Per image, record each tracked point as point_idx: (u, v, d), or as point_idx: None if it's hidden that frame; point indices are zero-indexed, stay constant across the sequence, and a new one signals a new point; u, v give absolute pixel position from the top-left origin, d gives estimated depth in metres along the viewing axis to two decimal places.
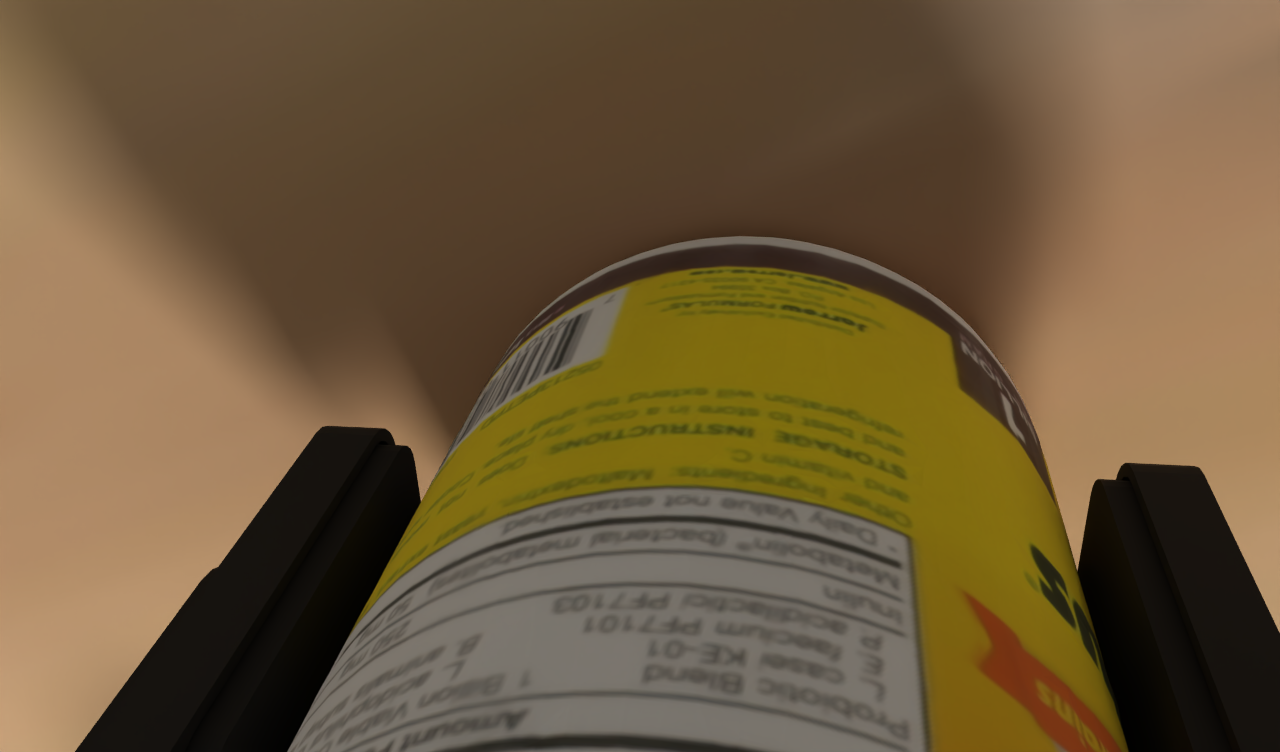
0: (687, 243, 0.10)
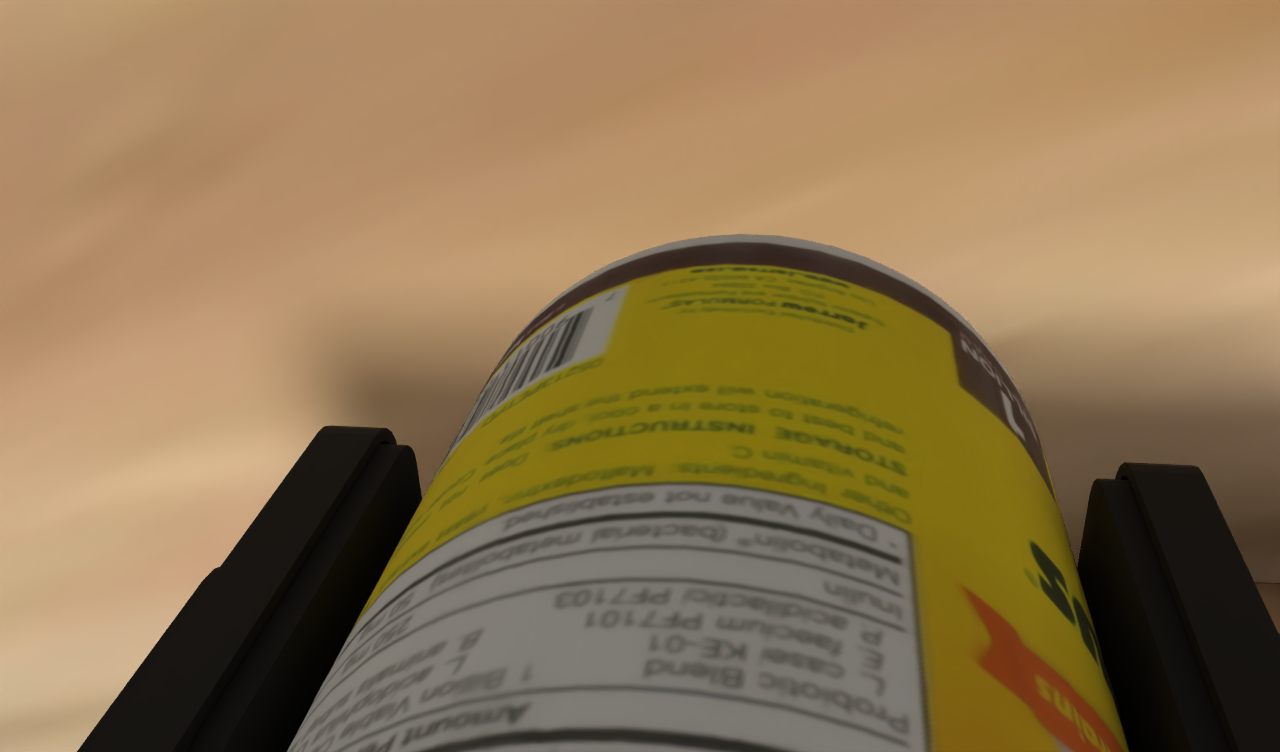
0: (688, 241, 0.10)
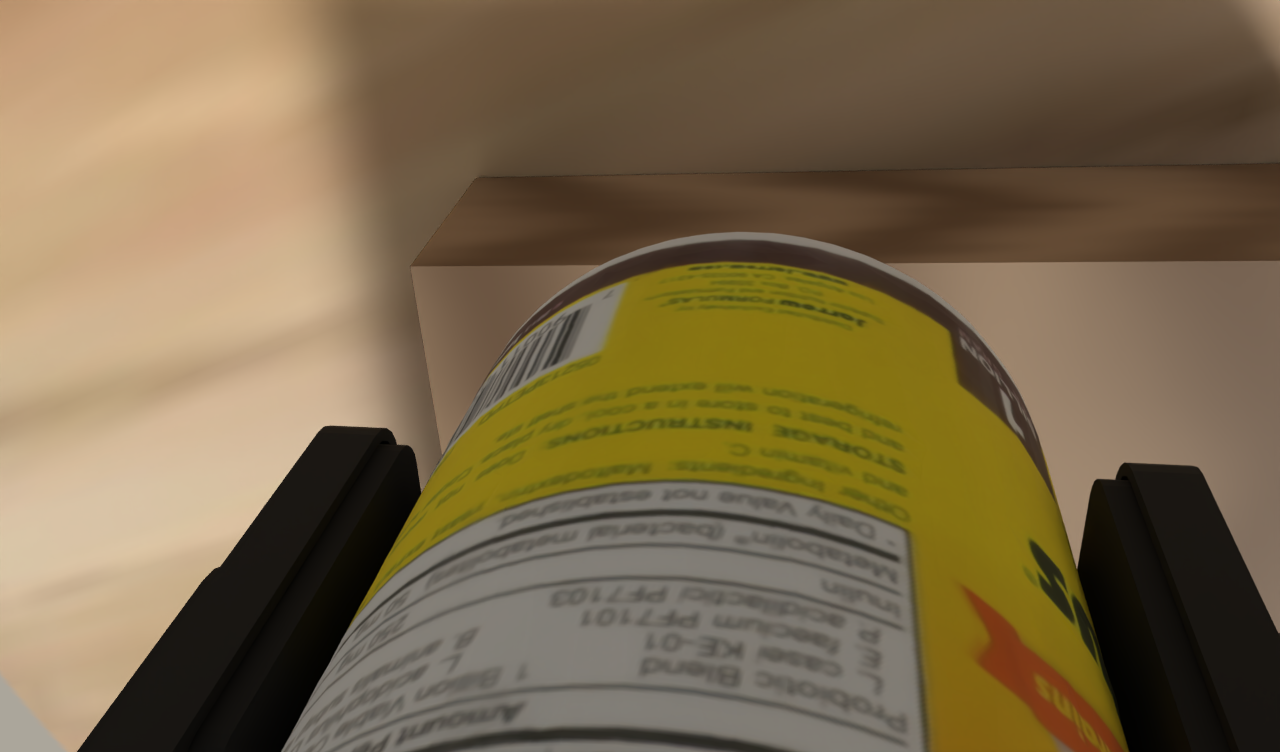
0: (686, 239, 0.10)
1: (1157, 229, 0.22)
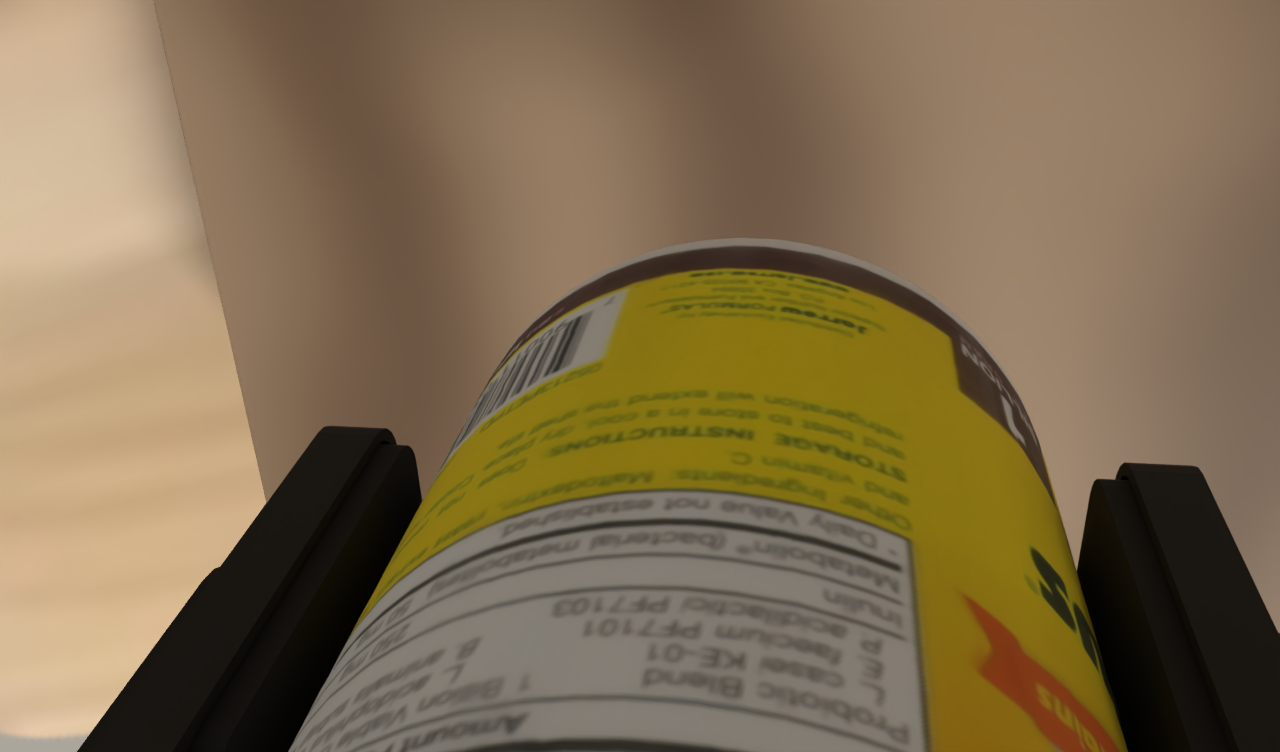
0: (687, 245, 0.10)
1: None
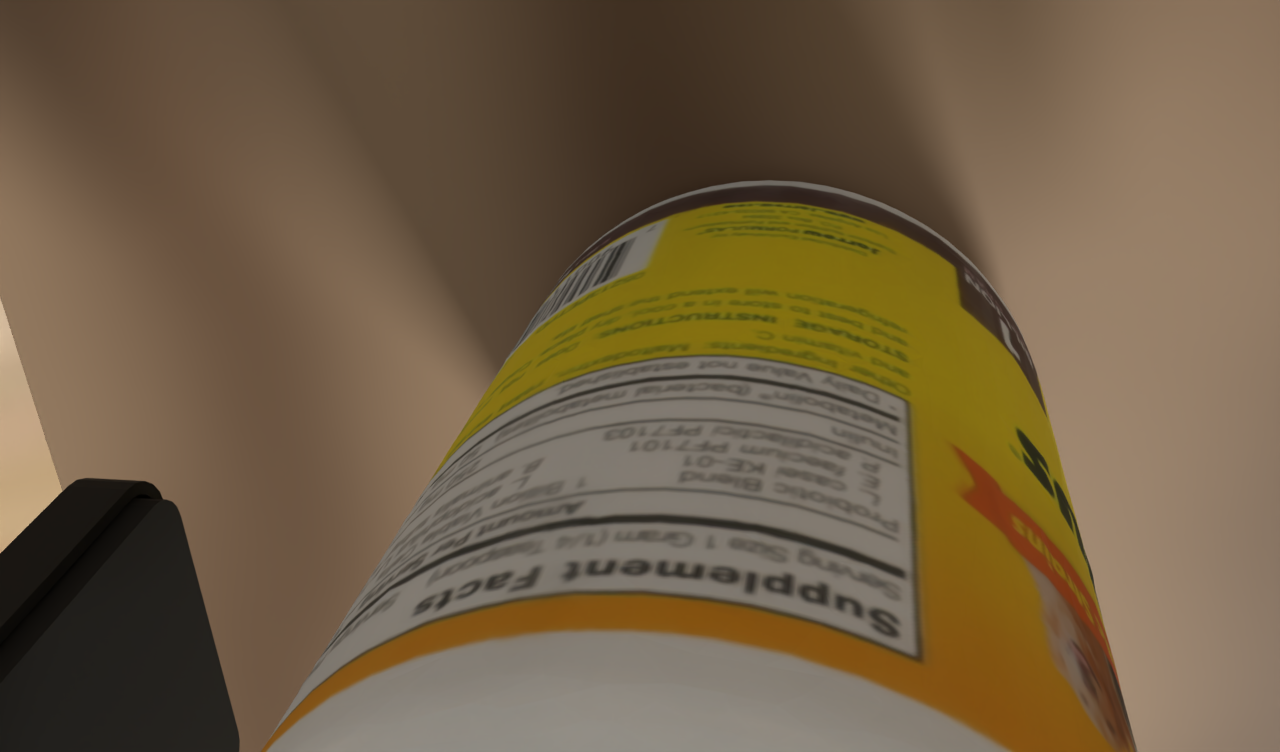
0: (721, 185, 0.12)
1: None
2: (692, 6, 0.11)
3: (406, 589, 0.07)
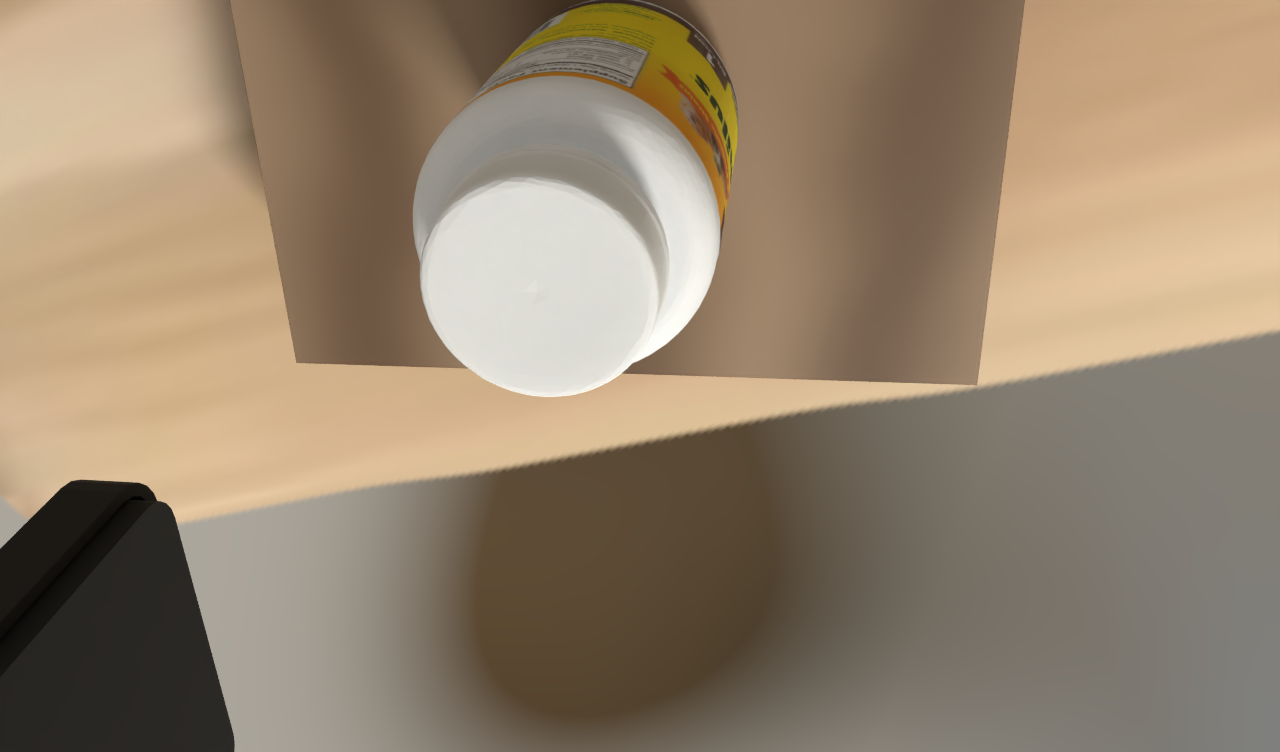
0: (593, 0, 0.26)
1: None
2: None
3: (481, 90, 0.21)
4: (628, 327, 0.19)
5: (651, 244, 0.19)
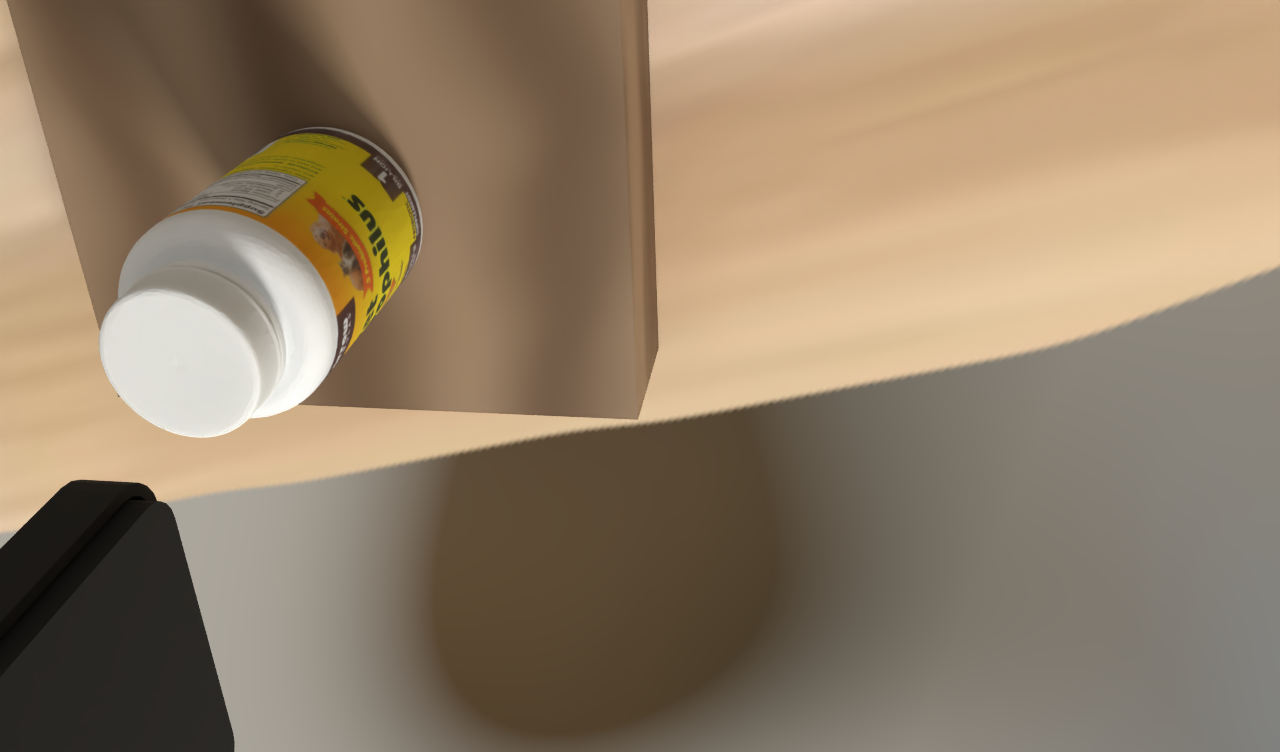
0: None
1: None
2: (289, 68, 0.35)
3: None
4: (242, 390, 0.28)
5: (253, 334, 0.27)
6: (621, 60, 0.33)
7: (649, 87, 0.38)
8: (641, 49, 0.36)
